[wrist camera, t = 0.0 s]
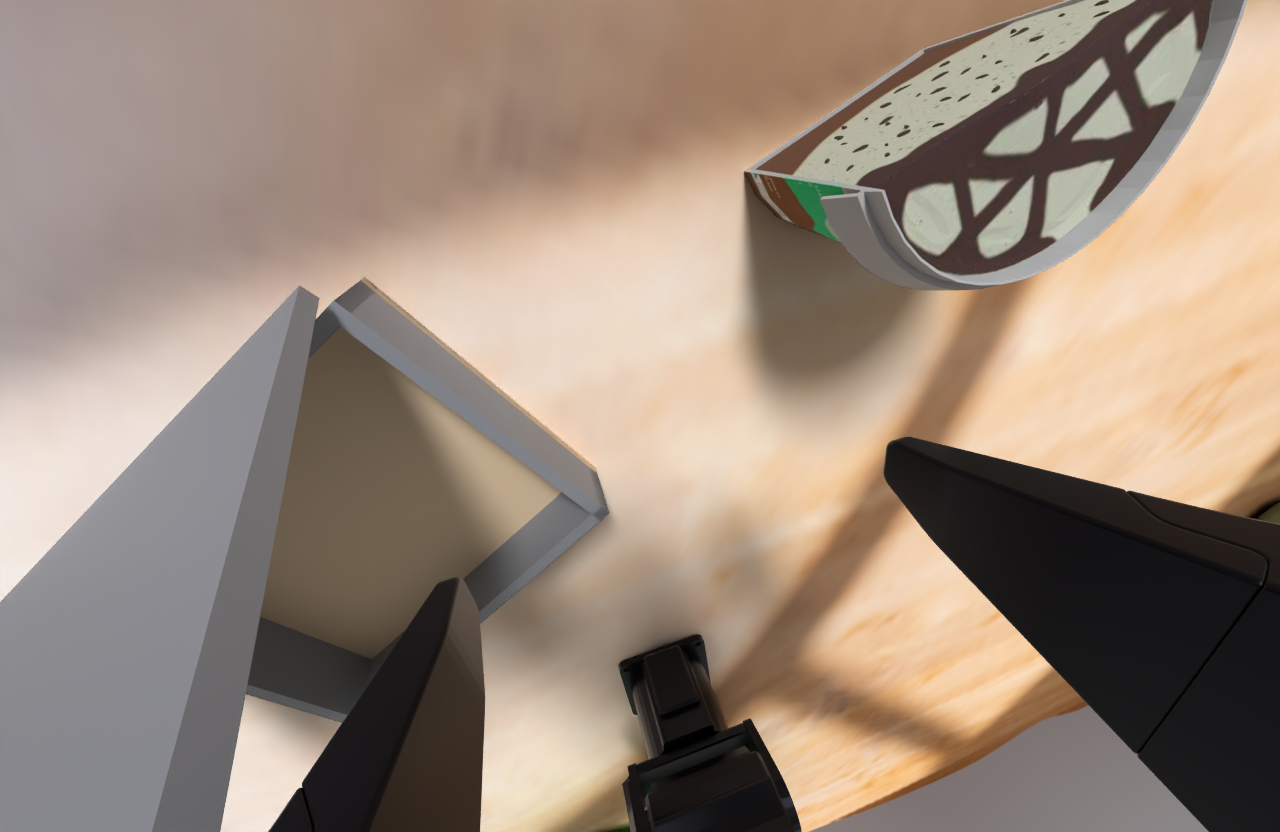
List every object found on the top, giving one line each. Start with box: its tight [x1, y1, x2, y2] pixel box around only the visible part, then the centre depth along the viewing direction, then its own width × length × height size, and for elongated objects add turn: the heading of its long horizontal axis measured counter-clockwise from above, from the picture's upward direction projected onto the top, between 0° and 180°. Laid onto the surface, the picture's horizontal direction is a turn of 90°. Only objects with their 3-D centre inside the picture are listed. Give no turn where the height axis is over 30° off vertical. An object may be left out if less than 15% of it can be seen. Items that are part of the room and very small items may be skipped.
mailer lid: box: [0, 286, 319, 832], centre depth 11 cm, size 14×18×1 cm
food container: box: [744, 0, 1247, 290], centre depth 18 cm, size 12×6×10 cm, turn 121°
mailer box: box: [246, 277, 609, 723], centre depth 22 cm, size 14×18×4 cm
